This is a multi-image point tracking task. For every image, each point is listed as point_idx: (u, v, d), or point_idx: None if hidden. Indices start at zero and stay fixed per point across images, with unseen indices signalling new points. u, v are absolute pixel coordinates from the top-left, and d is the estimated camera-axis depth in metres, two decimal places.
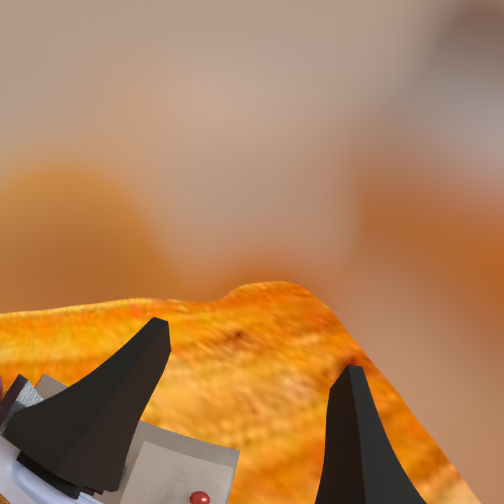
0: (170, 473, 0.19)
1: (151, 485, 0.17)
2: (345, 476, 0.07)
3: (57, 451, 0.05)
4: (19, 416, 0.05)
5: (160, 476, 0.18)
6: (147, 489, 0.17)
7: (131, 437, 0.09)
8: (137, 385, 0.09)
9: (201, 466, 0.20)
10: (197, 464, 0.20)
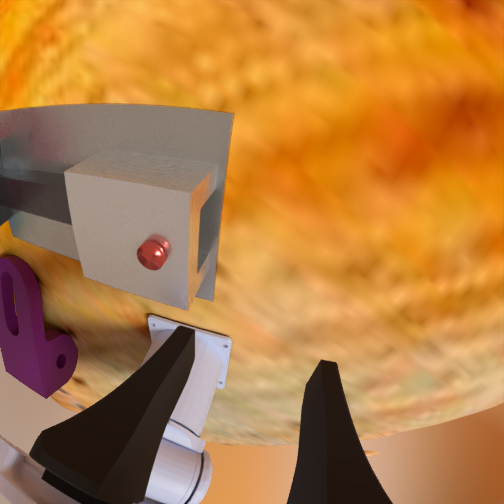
0: (107, 215, 0.15)
1: (95, 236, 0.16)
2: (312, 474, 0.07)
3: (94, 472, 0.05)
4: (47, 436, 0.05)
5: (99, 221, 0.15)
6: (95, 242, 0.16)
7: (157, 448, 0.09)
8: (166, 396, 0.09)
9: (141, 197, 0.14)
10: (134, 193, 0.14)
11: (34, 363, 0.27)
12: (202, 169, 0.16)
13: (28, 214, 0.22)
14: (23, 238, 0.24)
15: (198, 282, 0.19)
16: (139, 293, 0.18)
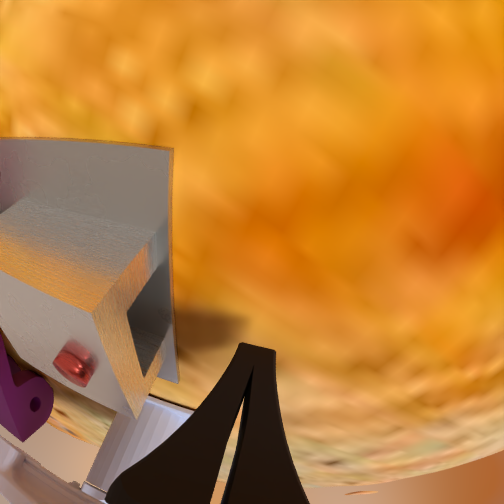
0: (13, 310, 0.09)
1: (13, 327, 0.10)
2: (235, 461, 0.07)
3: None
4: (128, 480, 0.05)
5: (9, 313, 0.09)
6: (15, 332, 0.10)
7: None
8: (235, 416, 0.09)
9: (36, 301, 0.08)
10: (27, 295, 0.07)
11: (6, 408, 0.21)
12: (128, 245, 0.09)
13: None
14: None
15: (149, 382, 0.13)
16: (78, 391, 0.12)
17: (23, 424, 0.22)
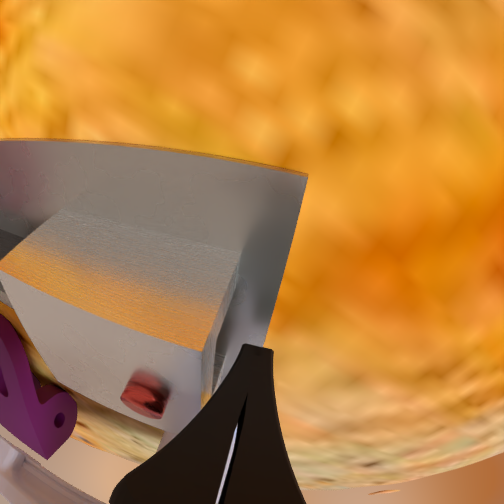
0: (67, 340, 0.08)
1: (59, 355, 0.09)
2: (232, 461, 0.07)
3: None
4: (133, 482, 0.05)
5: (58, 342, 0.09)
6: (60, 360, 0.10)
7: None
8: (239, 417, 0.09)
9: (112, 336, 0.07)
10: (100, 329, 0.07)
11: (30, 427, 0.20)
12: (216, 267, 0.09)
13: None
14: None
15: None
16: (132, 417, 0.11)
17: (47, 441, 0.22)
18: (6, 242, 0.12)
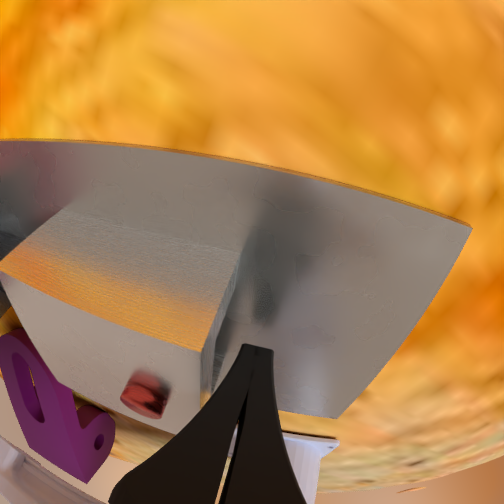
0: (67, 340, 0.08)
1: (59, 355, 0.09)
2: (232, 461, 0.07)
3: None
4: (132, 482, 0.05)
5: (58, 342, 0.09)
6: (60, 360, 0.10)
7: None
8: (238, 417, 0.09)
9: (112, 336, 0.07)
10: (99, 329, 0.07)
11: (70, 453, 0.20)
12: (215, 268, 0.09)
13: None
14: None
15: None
16: (132, 417, 0.11)
17: (87, 465, 0.22)
18: None
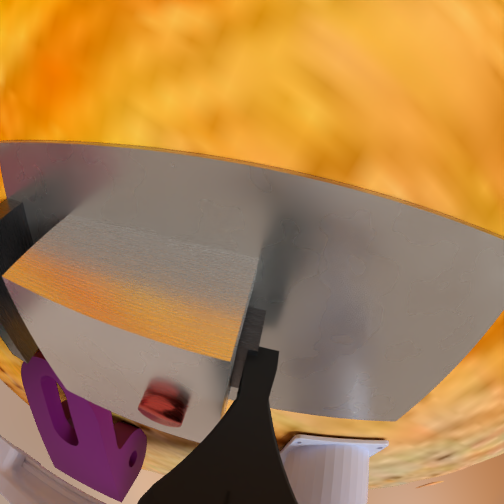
0: (81, 351, 0.08)
1: (71, 365, 0.09)
2: None
3: None
4: (161, 493, 0.05)
5: (71, 353, 0.09)
6: (71, 369, 0.10)
7: None
8: None
9: (133, 347, 0.07)
10: (120, 341, 0.07)
11: (106, 474, 0.19)
12: (236, 274, 0.09)
13: None
14: None
15: (226, 406, 0.12)
16: (145, 424, 0.11)
17: (123, 484, 0.21)
18: None
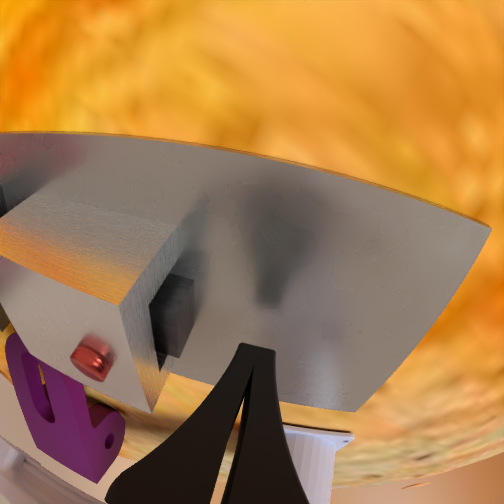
0: (28, 305, 0.09)
1: (26, 322, 0.10)
2: (235, 461, 0.07)
3: None
4: (128, 480, 0.05)
5: (23, 308, 0.09)
6: (27, 327, 0.10)
7: None
8: (235, 416, 0.09)
9: (57, 295, 0.08)
10: (47, 289, 0.08)
11: (81, 453, 0.20)
12: (150, 238, 0.10)
13: None
14: None
15: (164, 376, 0.13)
16: (91, 386, 0.12)
17: (98, 465, 0.22)
18: None
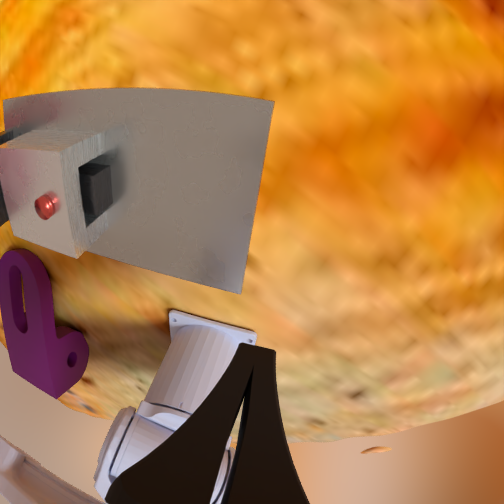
0: (19, 178, 0.15)
1: (15, 198, 0.16)
2: (235, 461, 0.07)
3: None
4: (128, 480, 0.05)
5: (15, 184, 0.16)
6: (15, 203, 0.17)
7: None
8: (235, 416, 0.09)
9: (35, 160, 0.14)
10: (31, 158, 0.14)
11: (44, 361, 0.26)
12: (85, 136, 0.16)
13: None
14: None
15: (90, 236, 0.19)
16: (46, 245, 0.18)
17: (59, 379, 0.28)
18: None
